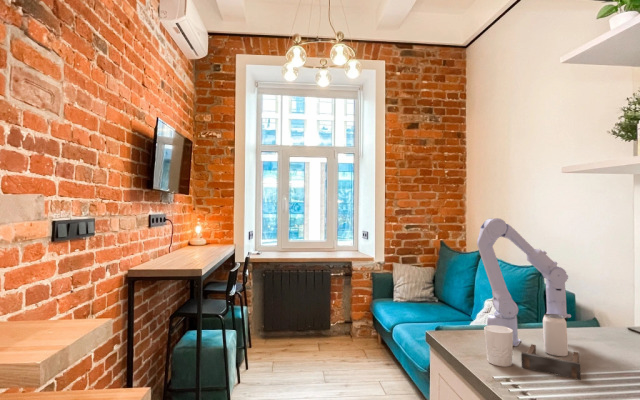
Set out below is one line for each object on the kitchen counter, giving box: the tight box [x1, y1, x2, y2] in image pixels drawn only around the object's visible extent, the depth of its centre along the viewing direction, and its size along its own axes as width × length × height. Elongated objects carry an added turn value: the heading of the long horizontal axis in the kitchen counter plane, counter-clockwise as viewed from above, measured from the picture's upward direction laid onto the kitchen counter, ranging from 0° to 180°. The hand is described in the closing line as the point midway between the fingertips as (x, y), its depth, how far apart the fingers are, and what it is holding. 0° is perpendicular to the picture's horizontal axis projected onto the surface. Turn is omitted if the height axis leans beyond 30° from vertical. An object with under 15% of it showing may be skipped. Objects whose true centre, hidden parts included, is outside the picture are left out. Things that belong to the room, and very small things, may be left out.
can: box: [542, 313, 569, 358], centre depth 116 cm, size 6×6×12 cm
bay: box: [521, 343, 582, 381], centre depth 106 cm, size 14×14×4 cm
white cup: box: [483, 325, 514, 368], centre depth 109 cm, size 8×8×10 cm
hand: (558, 340), depth 123 cm, fingers open, 7 cm apart
